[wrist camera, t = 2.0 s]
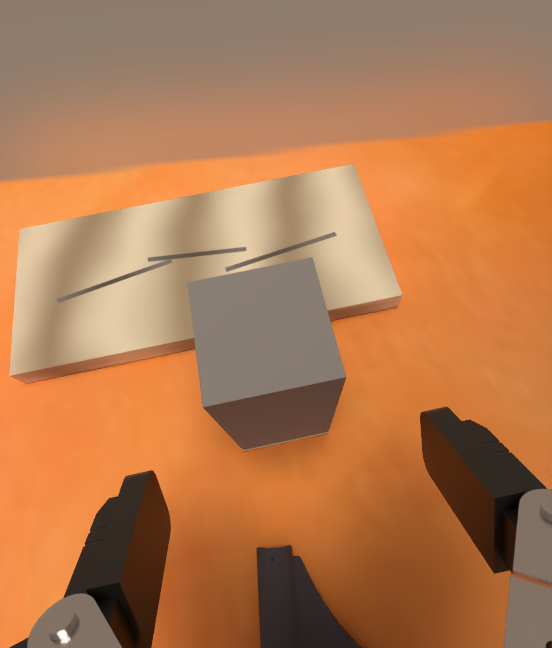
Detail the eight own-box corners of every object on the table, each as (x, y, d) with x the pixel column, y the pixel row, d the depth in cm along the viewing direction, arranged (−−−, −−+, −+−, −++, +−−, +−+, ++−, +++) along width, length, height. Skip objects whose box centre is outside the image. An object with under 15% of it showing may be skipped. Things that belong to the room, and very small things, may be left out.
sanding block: (309, 353, 24) (313, 255, 15) (329, 433, 22) (348, 378, 13) (230, 369, 24) (185, 281, 15) (243, 452, 22) (201, 409, 13)
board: (351, 180, 29) (353, 163, 28) (396, 307, 25) (402, 294, 23) (33, 242, 28) (19, 229, 27) (25, 383, 24) (9, 375, 23)
